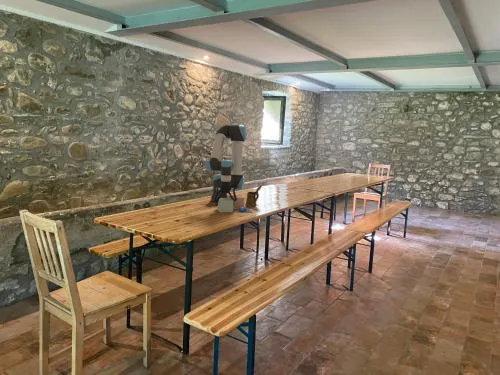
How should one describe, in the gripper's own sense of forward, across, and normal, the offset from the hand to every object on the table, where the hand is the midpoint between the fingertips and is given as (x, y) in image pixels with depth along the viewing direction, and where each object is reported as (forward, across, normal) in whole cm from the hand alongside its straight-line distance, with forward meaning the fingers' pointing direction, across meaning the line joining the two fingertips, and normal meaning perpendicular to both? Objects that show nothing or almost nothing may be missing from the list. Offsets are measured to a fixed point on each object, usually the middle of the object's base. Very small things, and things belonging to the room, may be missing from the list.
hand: (225, 210), depth 283 cm
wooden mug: (+1, +27, +16) cm, 31 cm away
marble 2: (0, +12, -5) cm, 13 cm away
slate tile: (+1, +13, -3) cm, 13 cm away
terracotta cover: (+1, +11, +10) cm, 15 cm away
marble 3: (0, +15, -3) cm, 15 cm away
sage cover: (+1, 0, 0) cm, 1 cm away
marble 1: (0, +12, -1) cm, 12 cm away
